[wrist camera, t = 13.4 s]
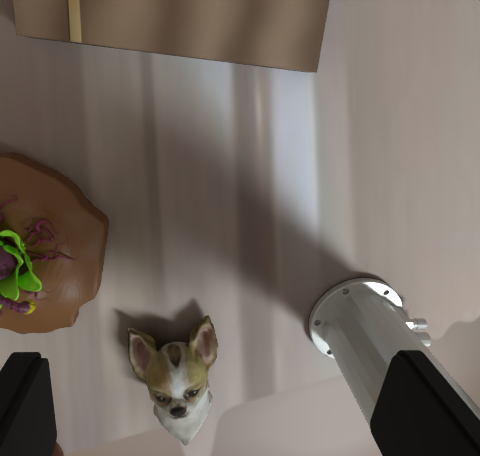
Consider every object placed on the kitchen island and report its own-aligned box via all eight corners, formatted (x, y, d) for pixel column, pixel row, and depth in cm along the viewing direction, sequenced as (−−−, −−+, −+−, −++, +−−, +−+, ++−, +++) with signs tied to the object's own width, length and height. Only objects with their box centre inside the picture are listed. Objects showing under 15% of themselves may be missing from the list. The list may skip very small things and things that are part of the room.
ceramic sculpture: (140, 467, 42) (113, 363, 37) (147, 407, 50) (126, 315, 45) (231, 449, 43) (217, 345, 38) (224, 394, 51) (212, 302, 46)
